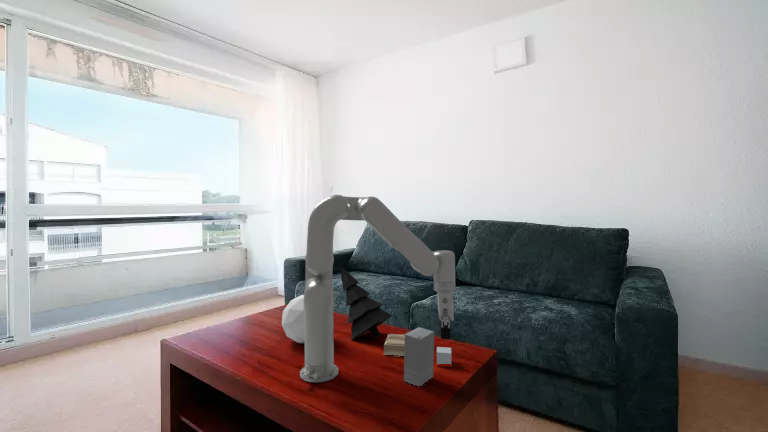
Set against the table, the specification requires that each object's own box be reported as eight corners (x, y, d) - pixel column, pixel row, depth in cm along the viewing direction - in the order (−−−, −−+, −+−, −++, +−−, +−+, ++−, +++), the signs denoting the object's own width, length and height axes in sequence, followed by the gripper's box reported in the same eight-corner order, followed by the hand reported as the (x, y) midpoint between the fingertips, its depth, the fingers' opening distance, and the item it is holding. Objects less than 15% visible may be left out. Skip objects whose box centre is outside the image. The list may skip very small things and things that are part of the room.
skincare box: (417, 373, 121) (417, 325, 121) (435, 379, 117) (435, 330, 116) (402, 382, 115) (402, 332, 114) (421, 389, 110) (421, 337, 110)
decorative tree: (375, 338, 162) (340, 270, 173) (398, 324, 155) (360, 254, 166) (354, 349, 150) (318, 275, 161) (378, 334, 143) (339, 258, 154)
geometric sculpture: (294, 361, 147) (262, 323, 144) (317, 328, 165) (289, 295, 162) (325, 346, 138) (292, 306, 136) (346, 314, 156) (317, 278, 153)
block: (451, 367, 125) (451, 353, 125) (436, 366, 126) (436, 352, 126) (450, 361, 130) (450, 347, 130) (436, 360, 131) (436, 346, 131)
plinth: (416, 357, 134) (416, 345, 134) (384, 355, 136) (384, 344, 135) (417, 345, 146) (417, 334, 146) (388, 343, 147) (388, 333, 147)
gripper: (456, 291, 119) (457, 343, 119) (454, 280, 136) (455, 326, 136) (433, 291, 120) (434, 342, 120) (434, 280, 137) (435, 325, 137)
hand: (445, 334), depth 128 cm, fingers open, 9 cm apart
